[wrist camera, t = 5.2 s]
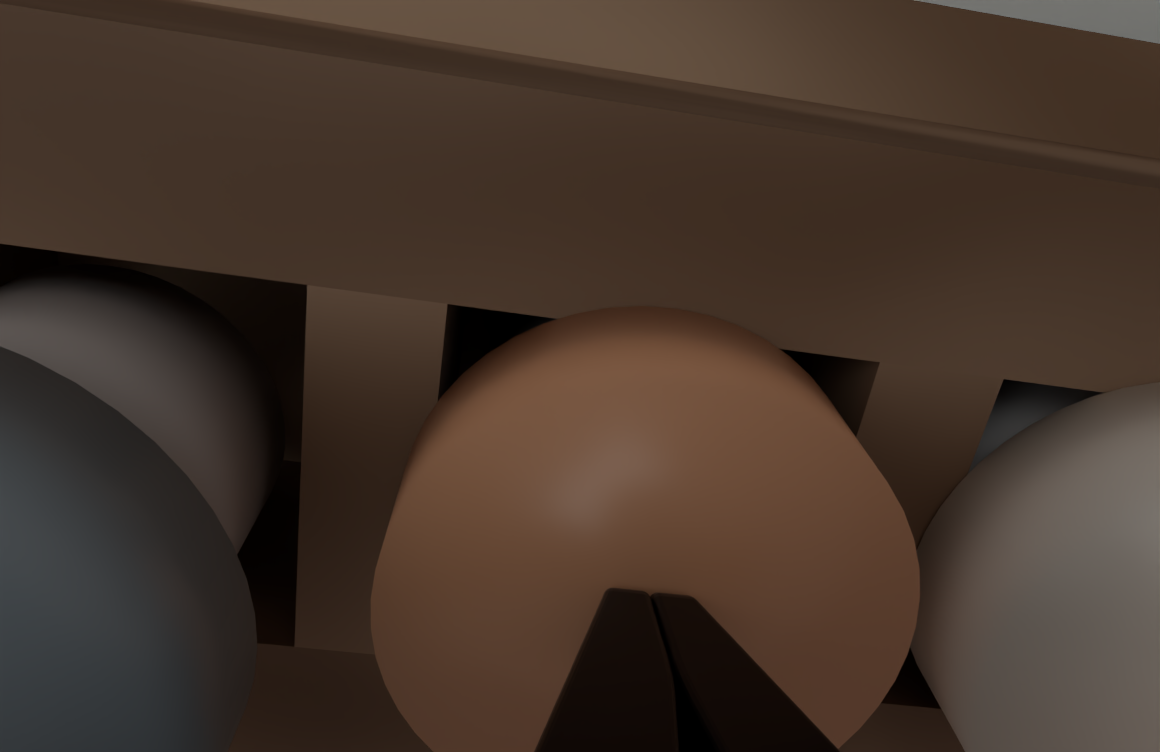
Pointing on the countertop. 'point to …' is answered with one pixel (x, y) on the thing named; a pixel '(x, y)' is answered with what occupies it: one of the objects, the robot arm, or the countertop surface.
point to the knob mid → (635, 524)
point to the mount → (585, 235)
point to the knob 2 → (1049, 577)
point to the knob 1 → (127, 513)
